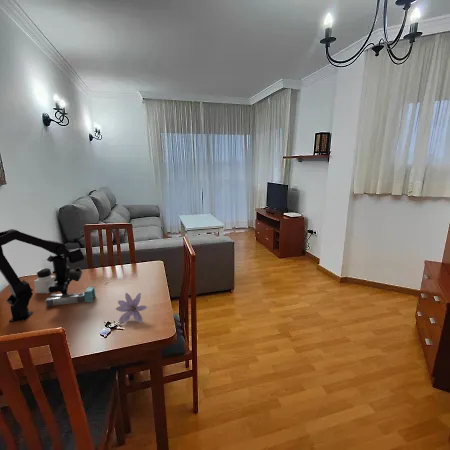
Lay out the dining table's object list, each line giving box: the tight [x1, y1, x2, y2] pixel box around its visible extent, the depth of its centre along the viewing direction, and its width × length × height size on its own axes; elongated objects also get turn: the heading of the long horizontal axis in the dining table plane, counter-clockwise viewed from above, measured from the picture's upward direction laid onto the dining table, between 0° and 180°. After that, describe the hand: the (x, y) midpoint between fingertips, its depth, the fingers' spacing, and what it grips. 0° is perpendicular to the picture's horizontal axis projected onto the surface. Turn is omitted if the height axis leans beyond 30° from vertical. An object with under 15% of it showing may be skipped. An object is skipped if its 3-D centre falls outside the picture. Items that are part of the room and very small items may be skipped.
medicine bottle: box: [33, 267, 57, 295], centre depth 138 cm, size 7×7×12 cm
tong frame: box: [45, 292, 86, 308], centre depth 126 cm, size 16×4×4 cm, turn 103°
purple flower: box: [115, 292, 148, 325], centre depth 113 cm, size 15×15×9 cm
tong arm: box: [49, 292, 78, 298], centre depth 128 cm, size 12×2×3 cm, turn 95°
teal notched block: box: [83, 286, 96, 303], centre depth 128 cm, size 3×6×5 cm, turn 12°
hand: (65, 295), depth 129 cm, fingers closed
